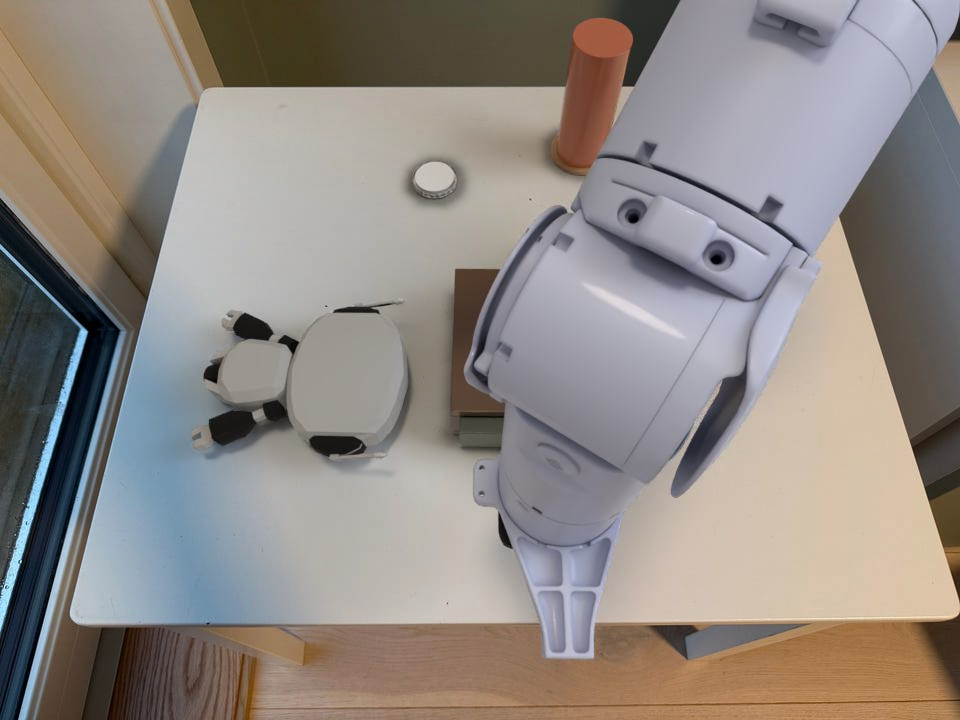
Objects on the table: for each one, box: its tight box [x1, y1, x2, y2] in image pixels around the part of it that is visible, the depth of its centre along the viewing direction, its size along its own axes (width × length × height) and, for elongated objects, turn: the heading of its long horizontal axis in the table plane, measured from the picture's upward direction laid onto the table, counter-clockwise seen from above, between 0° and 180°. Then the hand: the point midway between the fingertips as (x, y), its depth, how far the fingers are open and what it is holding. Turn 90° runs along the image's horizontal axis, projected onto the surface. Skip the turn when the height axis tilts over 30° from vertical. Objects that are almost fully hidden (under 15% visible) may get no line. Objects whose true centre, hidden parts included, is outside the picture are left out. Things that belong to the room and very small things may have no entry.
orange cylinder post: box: [556, 17, 634, 168], centre depth 52 cm, size 5×5×12 cm
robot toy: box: [189, 298, 409, 463], centre depth 45 cm, size 12×4×15 cm
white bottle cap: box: [411, 159, 458, 199], centre depth 56 cm, size 4×4×1 cm
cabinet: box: [449, 268, 505, 436], centre depth 46 cm, size 12×12×5 cm
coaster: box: [549, 134, 591, 176], centre depth 58 cm, size 6×6×1 cm
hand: (542, 523), depth 36 cm, fingers closed
